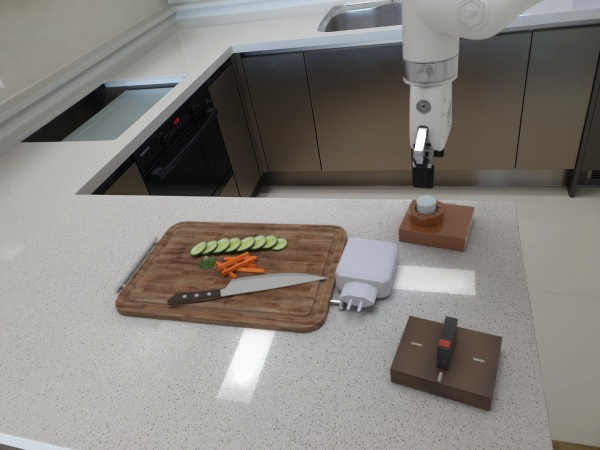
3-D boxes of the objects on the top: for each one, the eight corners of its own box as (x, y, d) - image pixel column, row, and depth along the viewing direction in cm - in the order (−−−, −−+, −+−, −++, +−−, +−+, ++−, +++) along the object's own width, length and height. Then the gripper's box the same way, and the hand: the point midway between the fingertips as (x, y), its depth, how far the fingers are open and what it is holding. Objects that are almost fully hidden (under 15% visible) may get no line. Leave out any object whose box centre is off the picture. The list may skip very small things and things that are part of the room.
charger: (326, 315, 75) (348, 255, 86) (382, 326, 72) (398, 263, 83) (324, 295, 72) (347, 236, 83) (382, 305, 69) (399, 243, 80)
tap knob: (445, 335, 65) (445, 314, 63) (456, 338, 65) (458, 317, 62) (436, 366, 62) (436, 345, 59) (448, 370, 61) (449, 348, 58)
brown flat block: (500, 350, 66) (502, 336, 64) (490, 411, 59) (492, 397, 57) (409, 328, 71) (409, 314, 69) (390, 381, 64) (389, 367, 63)
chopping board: (362, 230, 92) (361, 218, 91) (337, 336, 72) (335, 323, 70) (167, 225, 106) (162, 214, 104) (100, 313, 85) (93, 301, 84)
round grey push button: (438, 205, 87) (438, 196, 86) (433, 216, 85) (434, 207, 84) (419, 203, 89) (419, 194, 88) (414, 213, 87) (414, 204, 85)
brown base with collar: (473, 219, 90) (475, 198, 87) (464, 251, 83) (465, 230, 80) (412, 211, 95) (412, 191, 92) (399, 241, 88) (398, 220, 85)
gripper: (448, 91, 58) (444, 203, 68) (465, 46, 70) (459, 146, 80) (389, 91, 61) (393, 198, 71) (415, 47, 73) (416, 144, 83)
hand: (428, 170), depth 75 cm, fingers open, 9 cm apart
